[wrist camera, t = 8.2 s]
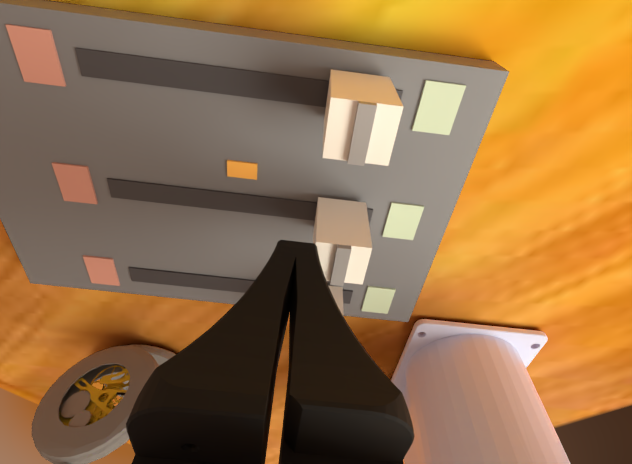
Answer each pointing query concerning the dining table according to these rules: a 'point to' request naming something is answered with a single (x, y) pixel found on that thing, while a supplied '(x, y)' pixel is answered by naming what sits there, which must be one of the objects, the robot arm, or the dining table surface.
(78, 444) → the pocket watch
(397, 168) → the panel
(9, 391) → the dining table surface
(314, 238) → the handle
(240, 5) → the dining table surface
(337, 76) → the handle
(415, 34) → the dining table surface
